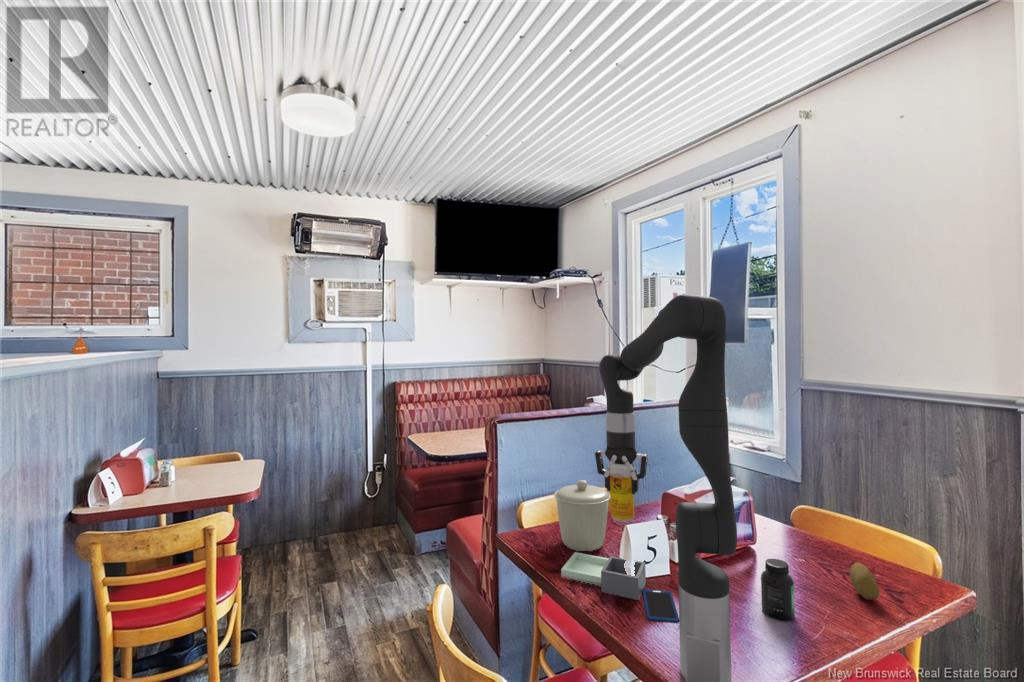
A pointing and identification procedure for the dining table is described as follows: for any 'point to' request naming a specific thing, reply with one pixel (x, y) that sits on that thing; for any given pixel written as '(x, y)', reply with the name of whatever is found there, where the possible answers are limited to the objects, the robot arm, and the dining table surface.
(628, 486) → the beer can
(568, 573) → the tray
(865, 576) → the potato
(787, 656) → the dining table surface
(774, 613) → the supplement bottle
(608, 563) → the holder
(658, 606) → the cell phone
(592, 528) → the canister
